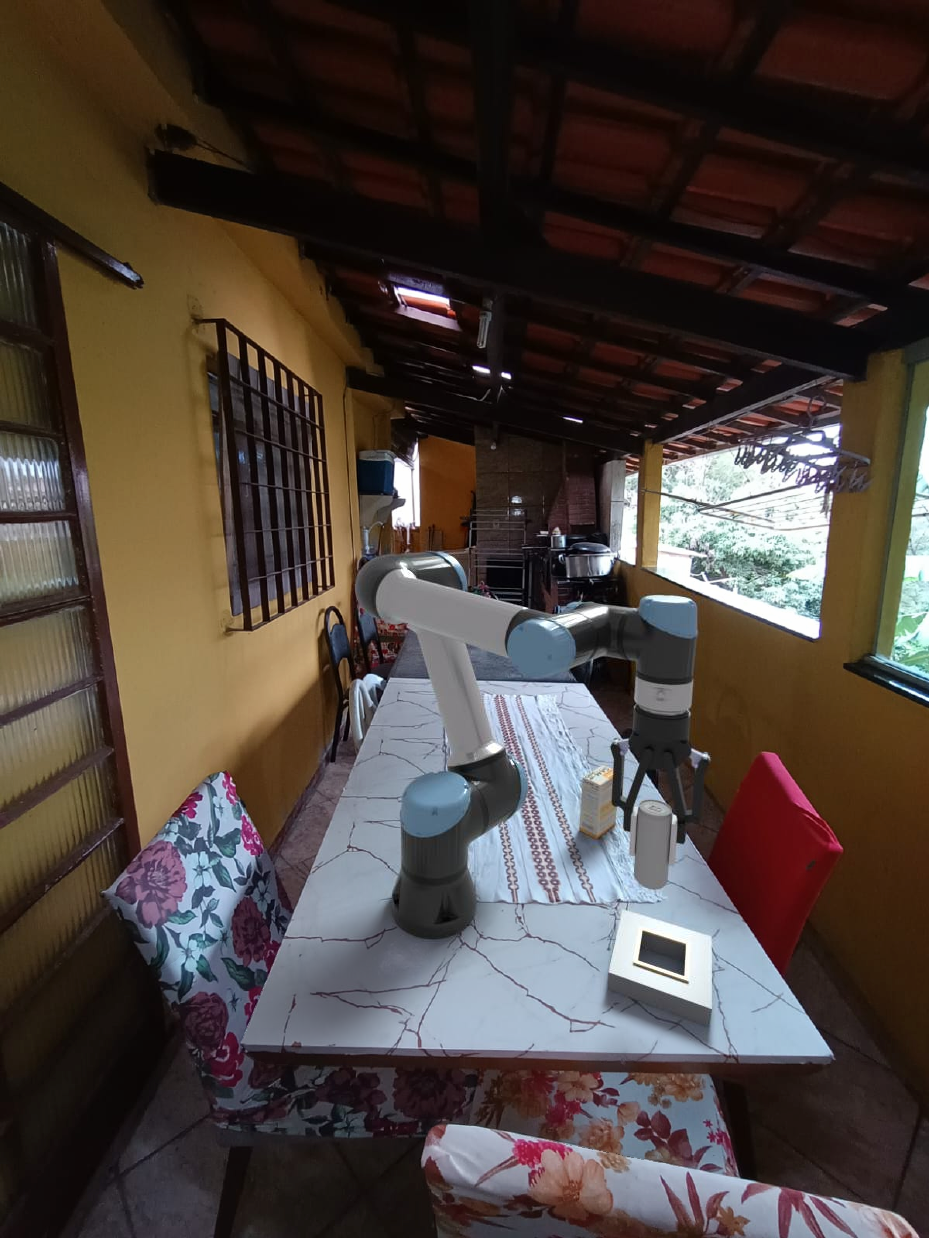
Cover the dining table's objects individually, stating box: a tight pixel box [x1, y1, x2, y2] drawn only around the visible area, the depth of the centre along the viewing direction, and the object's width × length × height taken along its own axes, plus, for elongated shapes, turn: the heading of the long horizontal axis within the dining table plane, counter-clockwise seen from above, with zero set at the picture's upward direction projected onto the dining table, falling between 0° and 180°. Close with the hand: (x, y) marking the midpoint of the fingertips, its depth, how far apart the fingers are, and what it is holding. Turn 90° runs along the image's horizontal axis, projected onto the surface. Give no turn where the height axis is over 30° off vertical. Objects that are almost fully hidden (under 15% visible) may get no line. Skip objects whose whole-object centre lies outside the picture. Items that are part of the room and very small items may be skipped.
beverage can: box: [633, 799, 673, 890], centre depth 79 cm, size 5×5×12 cm
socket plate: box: [606, 908, 713, 1028], centre depth 83 cm, size 14×14×3 cm
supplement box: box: [578, 765, 618, 839], centre depth 119 cm, size 8×5×13 cm, turn 134°
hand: (652, 855), depth 80 cm, fingers closed on beverage can, 5 cm apart
